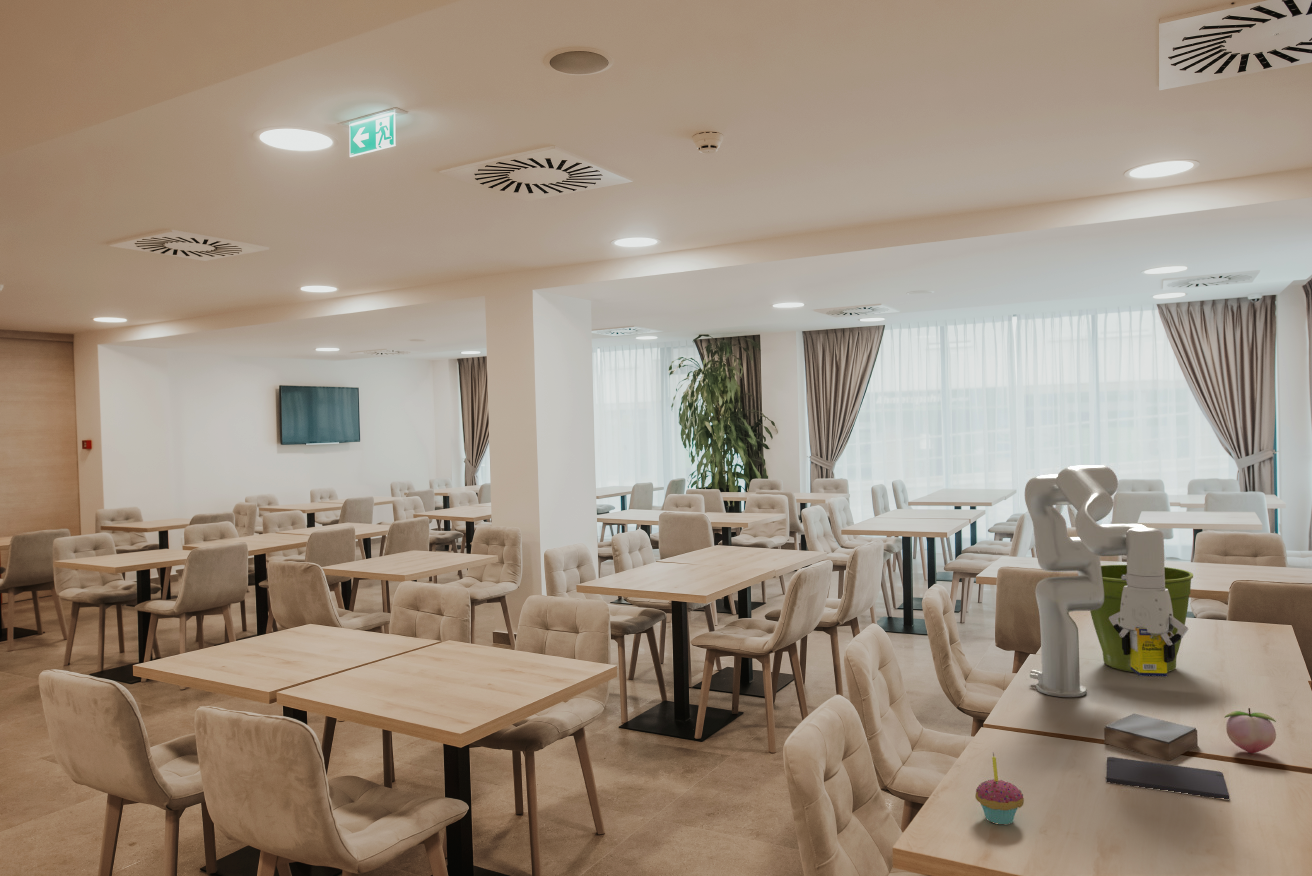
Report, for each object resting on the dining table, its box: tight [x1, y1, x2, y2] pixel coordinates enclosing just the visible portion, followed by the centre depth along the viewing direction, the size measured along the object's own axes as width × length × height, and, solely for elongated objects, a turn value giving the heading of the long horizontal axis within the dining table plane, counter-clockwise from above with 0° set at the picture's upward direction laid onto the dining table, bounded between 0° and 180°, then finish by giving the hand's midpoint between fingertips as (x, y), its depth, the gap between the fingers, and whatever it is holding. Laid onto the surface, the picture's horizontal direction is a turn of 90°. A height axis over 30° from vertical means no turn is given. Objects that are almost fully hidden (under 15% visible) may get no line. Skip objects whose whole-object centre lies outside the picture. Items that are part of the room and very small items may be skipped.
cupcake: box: [975, 752, 1025, 825], centre depth 162 cm, size 9×8×12 cm
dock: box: [1103, 713, 1199, 762], centre depth 197 cm, size 14×14×4 cm
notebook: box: [1105, 756, 1230, 800], centre depth 177 cm, size 13×2×21 cm
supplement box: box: [1129, 627, 1168, 677], centre depth 197 cm, size 6×6×11 cm
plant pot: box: [1089, 564, 1194, 673], centre depth 259 cm, size 30×30×29 cm
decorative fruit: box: [1224, 707, 1277, 754], centre depth 190 cm, size 9×8×10 cm
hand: (1148, 657), depth 197 cm, fingers closed on supplement box, 8 cm apart
